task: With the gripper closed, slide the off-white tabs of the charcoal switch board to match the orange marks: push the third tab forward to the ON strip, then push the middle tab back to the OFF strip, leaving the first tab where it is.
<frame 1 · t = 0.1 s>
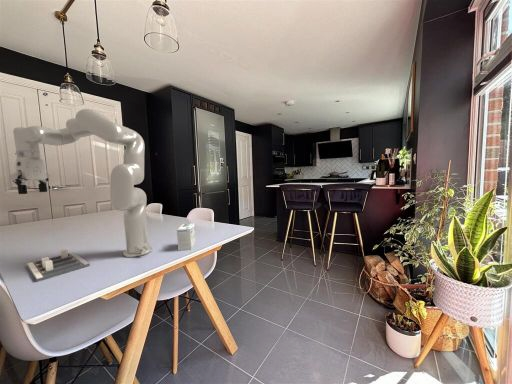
hand: (33, 192, 100), 31 cm above the table, tool pointing down, fingers open, 9 cm apart
tab 1: (48, 265, 85), point 3 cm above the table, slide at 3.5 cm
switch board: (57, 266, 92), on the table
light bulb box: (187, 247, 111), on the table
tab 2: (45, 262, 89), point 3 cm above the table, slide at 3.5 cm
tab 3: (64, 253, 98), point 3 cm above the table, slide at -3.5 cm
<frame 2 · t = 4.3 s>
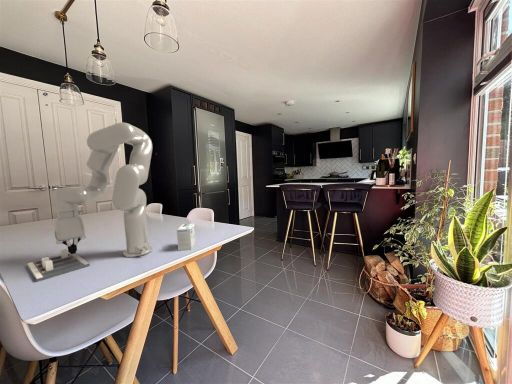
hand: (72, 253, 101), 2 cm above the table, tool pointing down, fingers closed
tab 3: (64, 253, 98), point 3 cm above the table, slide at -3.5 cm, touching gripper
everything else where it was.
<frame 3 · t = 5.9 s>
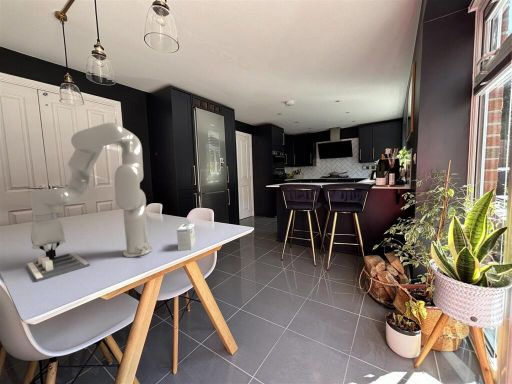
hand: (51, 258, 95), 2 cm above the table, tool pointing down, fingers closed
tab 3: (41, 259, 92), point 3 cm above the table, slide at 3.9 cm, touching gripper
everything else where it was.
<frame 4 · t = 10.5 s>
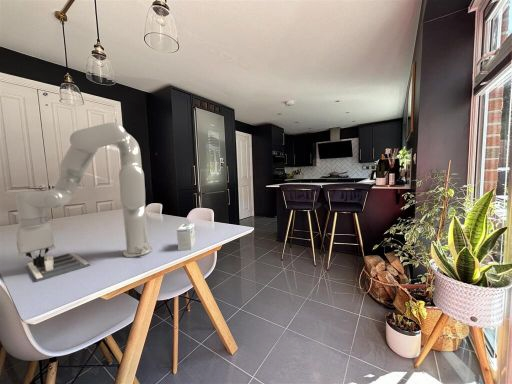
hand: (39, 266, 88), 2 cm above the table, tool pointing down, fingers closed
tab 2: (49, 261, 90), point 3 cm above the table, slide at 2.3 cm, touching gripper
tab 3: (42, 259, 93), point 3 cm above the table, slide at 3.6 cm
everything else where it was.
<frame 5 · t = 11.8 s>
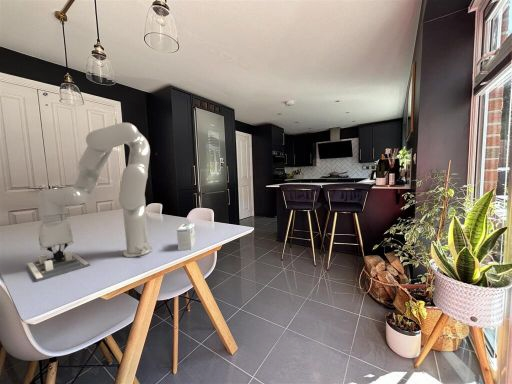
hand: (59, 260, 92), 2 cm above the table, tool pointing down, fingers closed
tab 2: (68, 256, 95), point 3 cm above the table, slide at -3.7 cm, touching gripper
everything else where it was.
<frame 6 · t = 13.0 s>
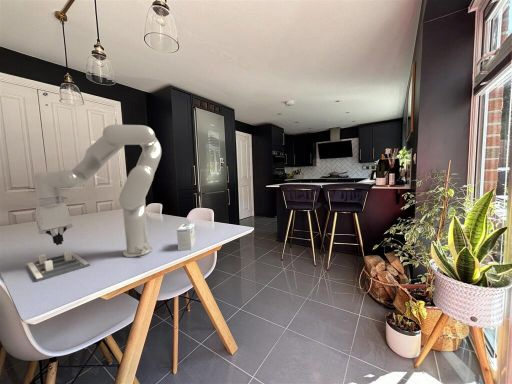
hand: (59, 244, 92), 9 cm above the table, tool pointing down, fingers closed
tab 2: (67, 256, 95), point 3 cm above the table, slide at -3.6 cm
everything else where it was.
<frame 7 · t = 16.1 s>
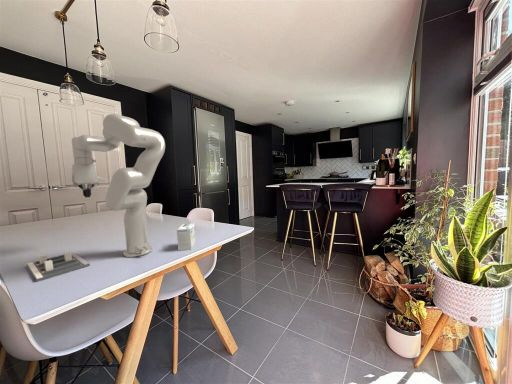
hand: (87, 197, 113), 27 cm above the table, tool pointing down, fingers closed
nothing on the table moved.
at the end: tab 3 slide at 3.6 cm; tab 2 slide at -3.6 cm; tab 1 slide at 3.5 cm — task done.
